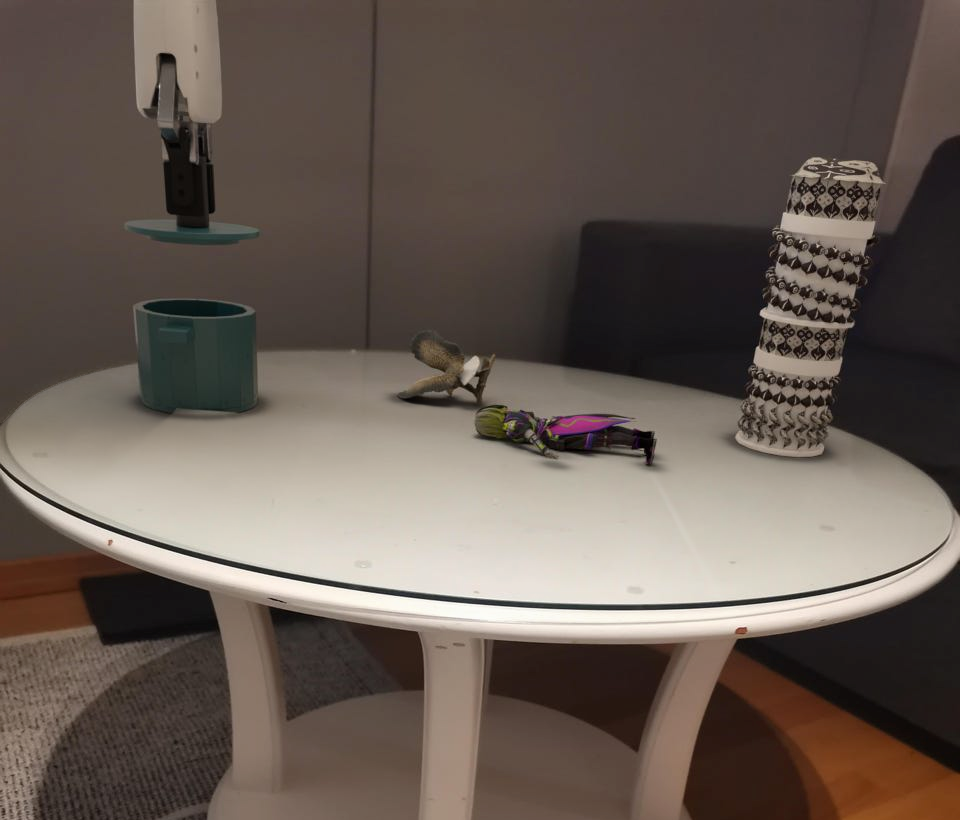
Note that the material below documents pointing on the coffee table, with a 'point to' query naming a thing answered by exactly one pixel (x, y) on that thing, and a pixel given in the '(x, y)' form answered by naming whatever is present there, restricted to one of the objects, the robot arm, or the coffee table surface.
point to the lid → (193, 227)
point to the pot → (196, 354)
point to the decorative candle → (809, 305)
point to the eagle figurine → (446, 367)
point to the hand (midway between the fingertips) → (191, 211)
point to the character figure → (563, 430)
